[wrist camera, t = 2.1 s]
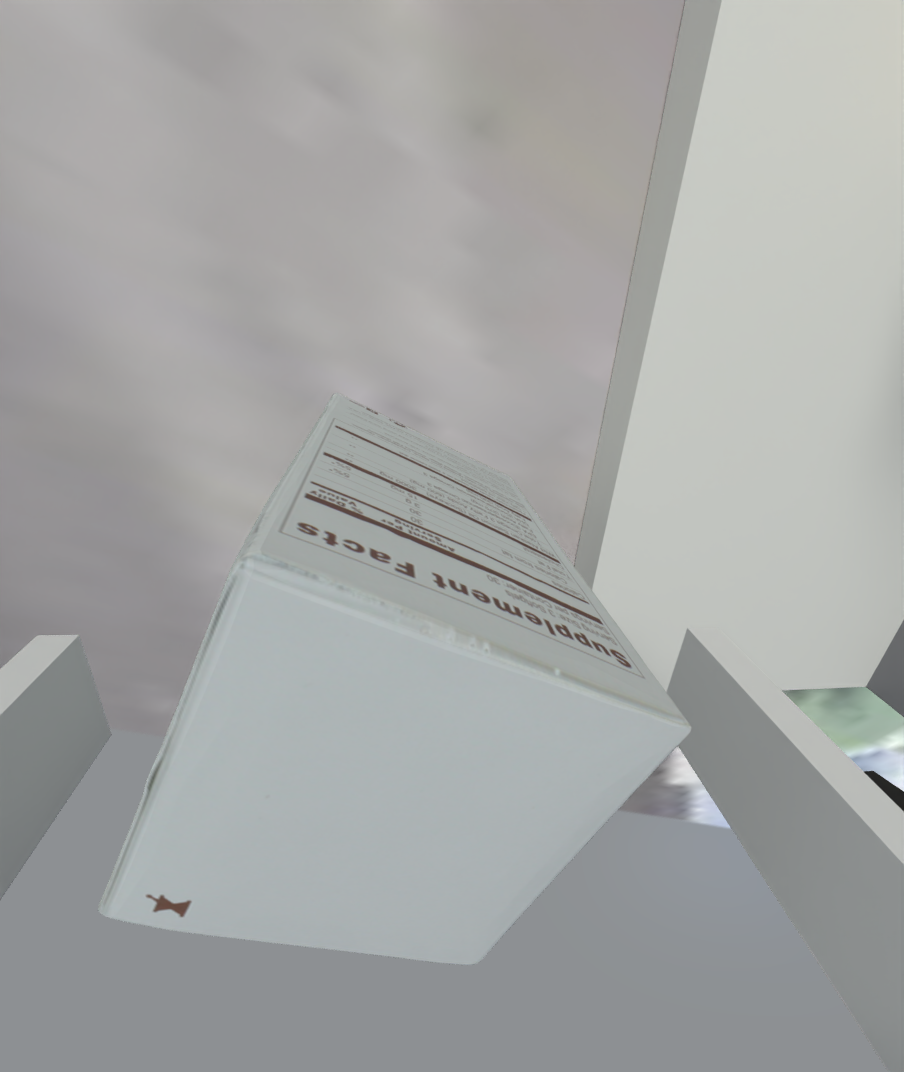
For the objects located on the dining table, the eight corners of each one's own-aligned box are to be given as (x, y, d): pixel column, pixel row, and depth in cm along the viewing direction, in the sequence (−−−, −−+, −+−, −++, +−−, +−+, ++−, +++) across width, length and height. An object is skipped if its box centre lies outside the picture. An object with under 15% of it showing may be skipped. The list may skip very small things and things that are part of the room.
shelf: (554, 668, 23) (589, 747, 19) (768, -422, 10) (1021, -904, 6) (848, 659, 25) (937, 727, 21) (1329, -253, 12) (1793, -527, 8)
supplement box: (428, 617, 21) (475, 981, 10) (261, 554, 19) (70, 932, 7) (516, 474, 19) (714, 736, 7) (336, 381, 16) (218, 553, 5)
